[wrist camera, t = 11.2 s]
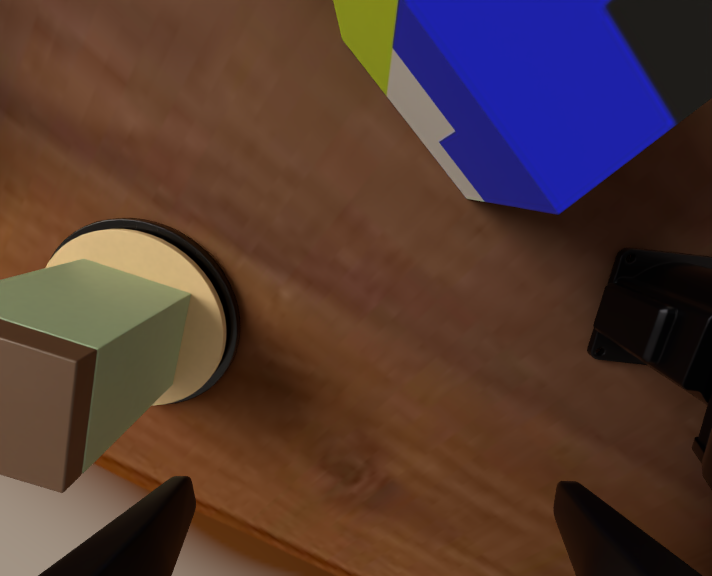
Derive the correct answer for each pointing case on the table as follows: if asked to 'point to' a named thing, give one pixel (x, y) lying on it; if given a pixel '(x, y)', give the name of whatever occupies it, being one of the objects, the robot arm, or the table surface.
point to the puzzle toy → (534, 85)
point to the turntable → (207, 267)
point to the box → (99, 349)
